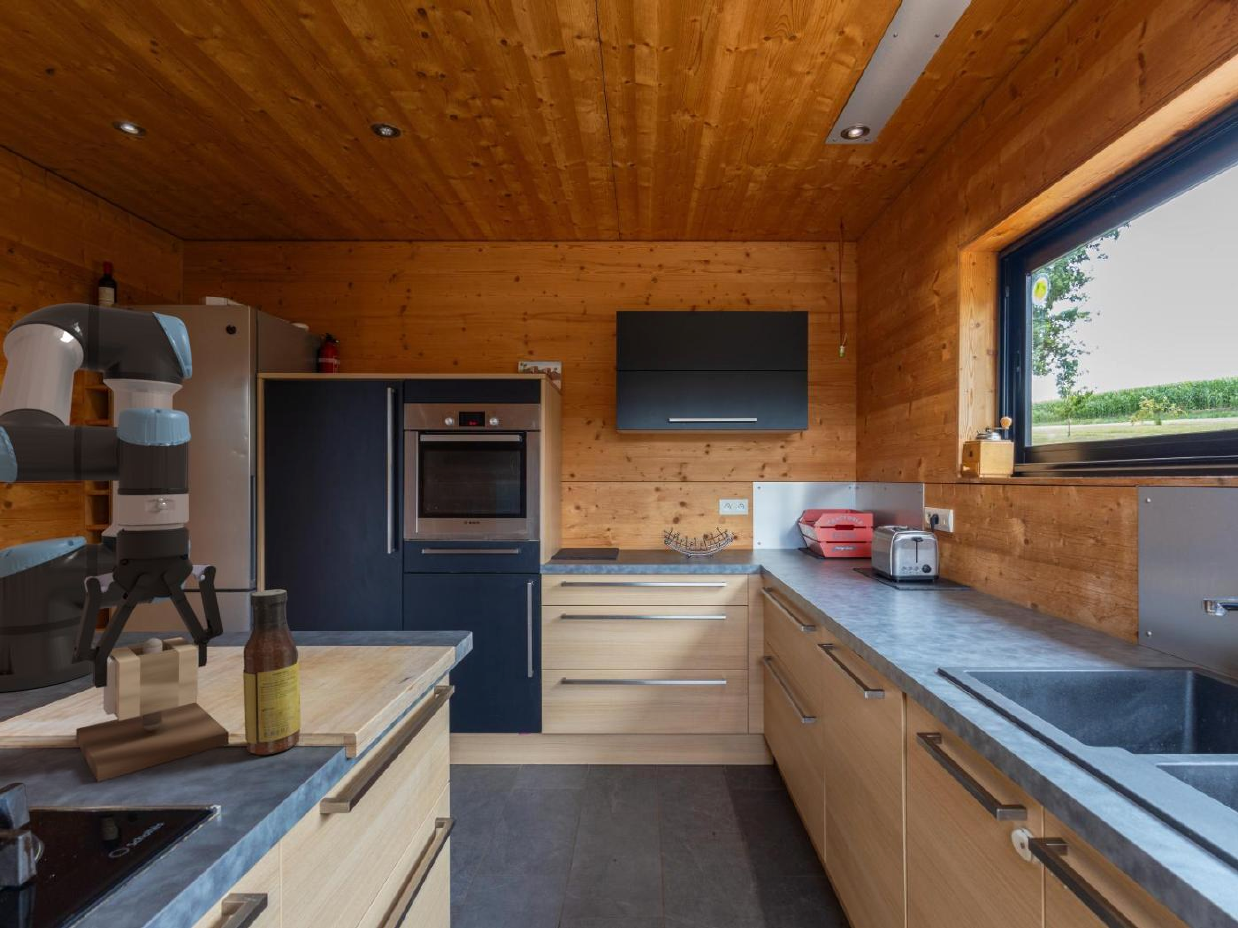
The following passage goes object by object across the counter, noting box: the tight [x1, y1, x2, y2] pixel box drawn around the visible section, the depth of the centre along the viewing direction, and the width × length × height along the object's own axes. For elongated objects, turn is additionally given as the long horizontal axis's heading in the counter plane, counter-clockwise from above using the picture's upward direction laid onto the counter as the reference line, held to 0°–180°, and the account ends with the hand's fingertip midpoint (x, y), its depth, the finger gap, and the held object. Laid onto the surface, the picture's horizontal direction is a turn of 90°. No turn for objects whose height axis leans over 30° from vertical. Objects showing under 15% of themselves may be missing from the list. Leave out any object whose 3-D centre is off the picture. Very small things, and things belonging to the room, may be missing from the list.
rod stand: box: [75, 637, 230, 783], centre depth 79 cm, size 16×13×14 cm
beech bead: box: [109, 637, 198, 721], centre depth 80 cm, size 8×8×7 cm
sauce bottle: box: [242, 588, 302, 756], centre depth 78 cm, size 7×6×20 cm
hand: (152, 700), depth 79 cm, fingers closed on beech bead, 8 cm apart
